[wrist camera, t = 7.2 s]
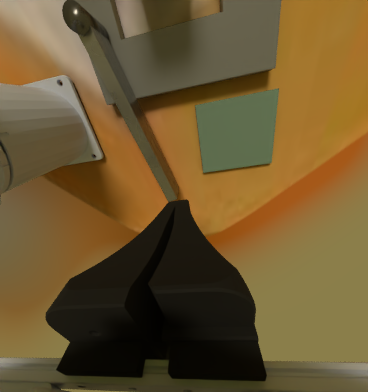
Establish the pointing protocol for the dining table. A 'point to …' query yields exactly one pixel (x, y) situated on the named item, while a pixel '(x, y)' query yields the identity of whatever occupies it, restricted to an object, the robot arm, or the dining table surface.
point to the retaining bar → (120, 91)
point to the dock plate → (192, 47)
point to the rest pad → (237, 131)
